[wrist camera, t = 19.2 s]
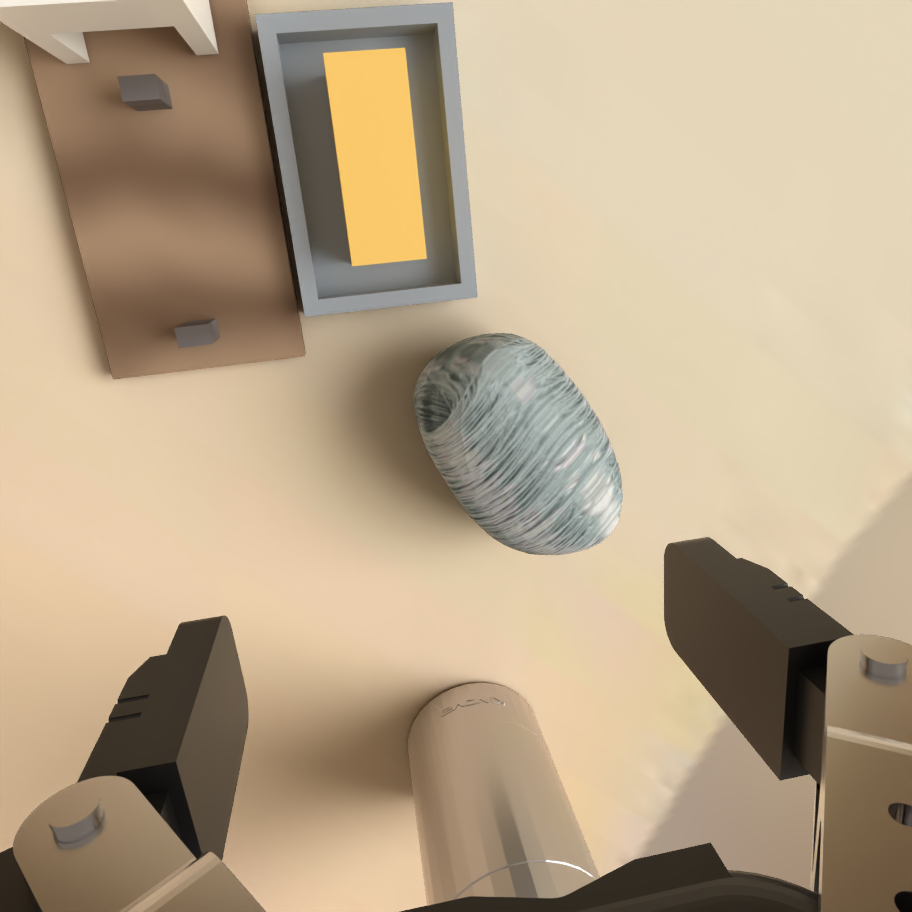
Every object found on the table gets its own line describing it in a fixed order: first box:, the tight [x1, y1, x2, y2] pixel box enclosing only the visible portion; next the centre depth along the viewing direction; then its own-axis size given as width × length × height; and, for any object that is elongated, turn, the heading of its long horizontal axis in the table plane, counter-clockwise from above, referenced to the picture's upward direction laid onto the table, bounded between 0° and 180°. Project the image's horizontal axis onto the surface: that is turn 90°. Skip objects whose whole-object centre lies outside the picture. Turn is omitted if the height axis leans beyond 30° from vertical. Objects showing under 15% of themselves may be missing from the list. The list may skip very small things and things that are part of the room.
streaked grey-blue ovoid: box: [413, 333, 623, 555], centre depth 38 cm, size 14×10×10 cm
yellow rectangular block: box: [323, 48, 427, 266], centre depth 33 cm, size 9×4×4 cm, turn 5°
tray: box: [255, 2, 477, 317], centre depth 35 cm, size 14×9×2 cm
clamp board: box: [24, 0, 305, 379], centre depth 33 cm, size 18×10×3 cm, turn 5°
